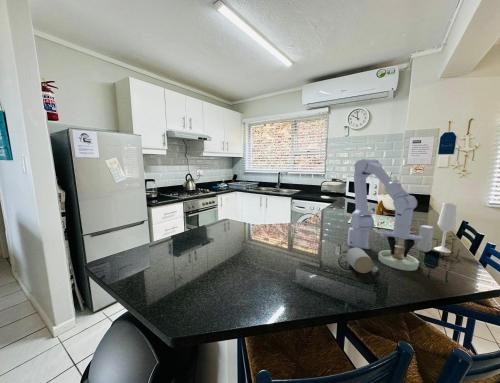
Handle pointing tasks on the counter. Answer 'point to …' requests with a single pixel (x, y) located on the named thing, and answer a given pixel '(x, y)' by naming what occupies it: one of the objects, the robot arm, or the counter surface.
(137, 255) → the counter surface
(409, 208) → the robot arm
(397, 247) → the maple cylinder
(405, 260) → the round tray
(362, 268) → the ceramic mug
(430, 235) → the skincare box
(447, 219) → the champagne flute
